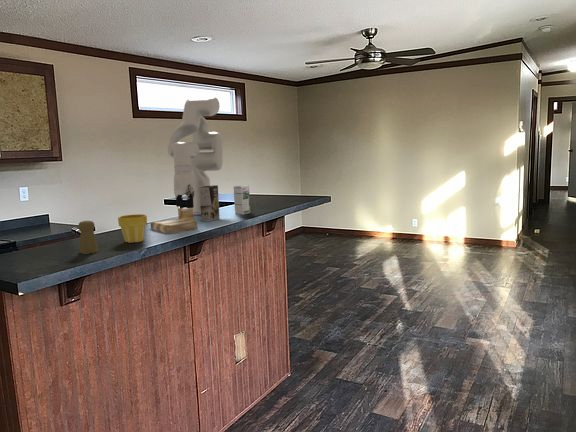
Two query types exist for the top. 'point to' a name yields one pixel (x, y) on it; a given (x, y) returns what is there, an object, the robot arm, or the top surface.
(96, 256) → the top surface
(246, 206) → the syrup box
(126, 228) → the plant pot
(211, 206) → the coffee box
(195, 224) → the dock
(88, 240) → the cork
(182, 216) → the tan upright block
